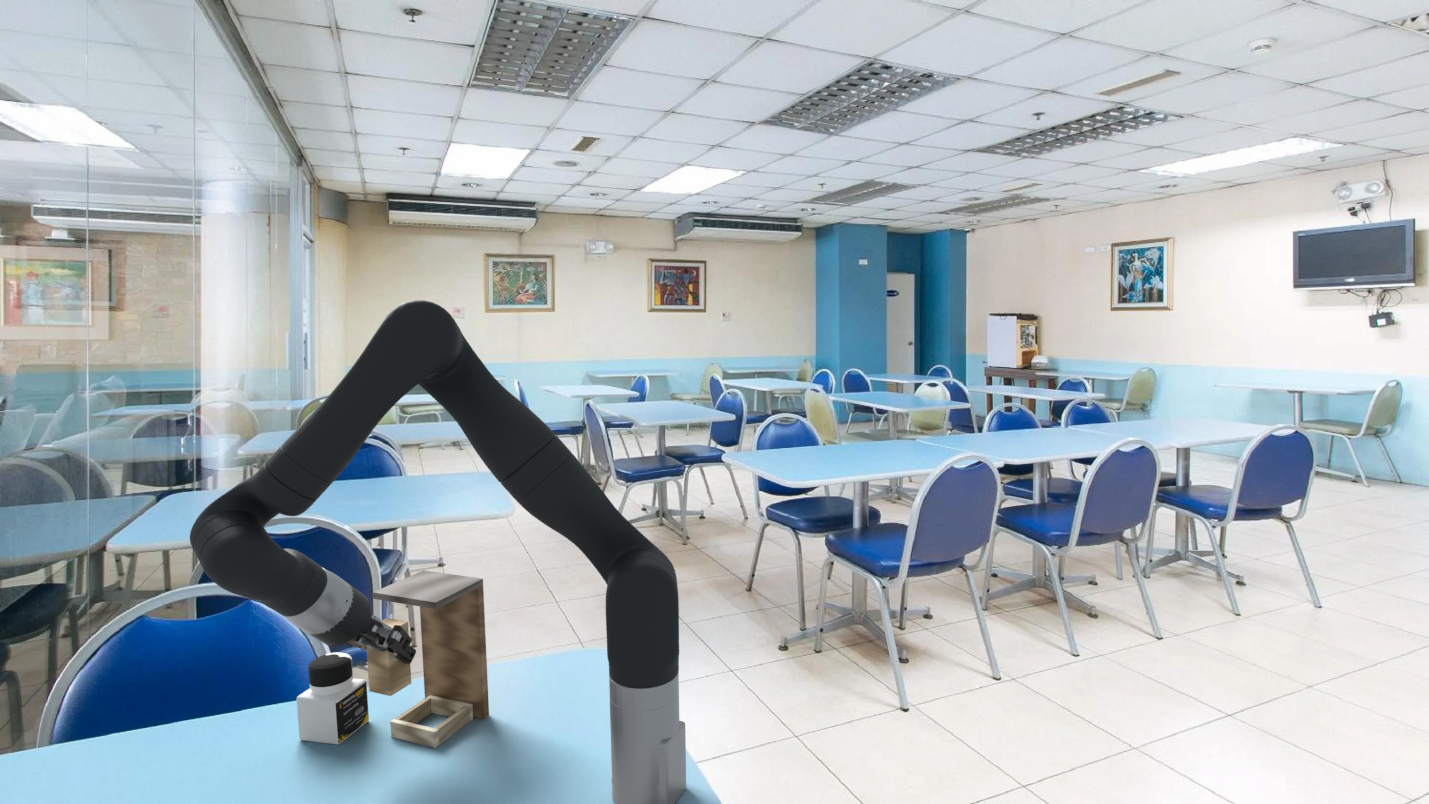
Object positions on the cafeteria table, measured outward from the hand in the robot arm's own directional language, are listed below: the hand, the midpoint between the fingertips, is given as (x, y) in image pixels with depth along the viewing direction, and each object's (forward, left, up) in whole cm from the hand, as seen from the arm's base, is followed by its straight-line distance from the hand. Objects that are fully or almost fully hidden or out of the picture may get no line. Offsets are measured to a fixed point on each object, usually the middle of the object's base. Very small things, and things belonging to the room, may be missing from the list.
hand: (399, 654), depth 110 cm
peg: (0, +2, -4) cm, 5 cm away
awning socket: (0, -6, -15) cm, 16 cm away
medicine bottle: (+14, 0, -15) cm, 21 cm away
